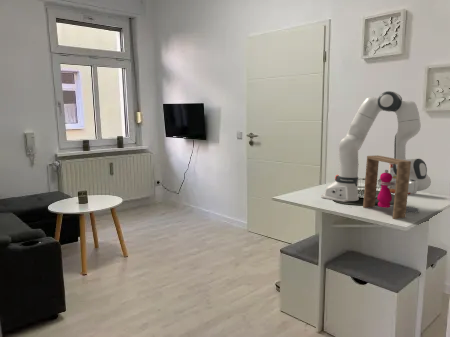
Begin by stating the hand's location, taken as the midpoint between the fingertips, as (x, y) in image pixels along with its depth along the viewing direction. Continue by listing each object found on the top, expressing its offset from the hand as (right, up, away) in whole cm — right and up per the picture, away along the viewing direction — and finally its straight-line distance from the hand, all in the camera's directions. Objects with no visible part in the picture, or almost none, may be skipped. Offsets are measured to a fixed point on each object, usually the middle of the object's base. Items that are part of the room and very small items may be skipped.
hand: (384, 185), depth 198 cm
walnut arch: (+1, -15, +3) cm, 15 cm away
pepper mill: (+1, -11, +2) cm, 12 cm away
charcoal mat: (+17, -14, +9) cm, 23 cm away
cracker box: (+31, -7, +50) cm, 59 cm away
